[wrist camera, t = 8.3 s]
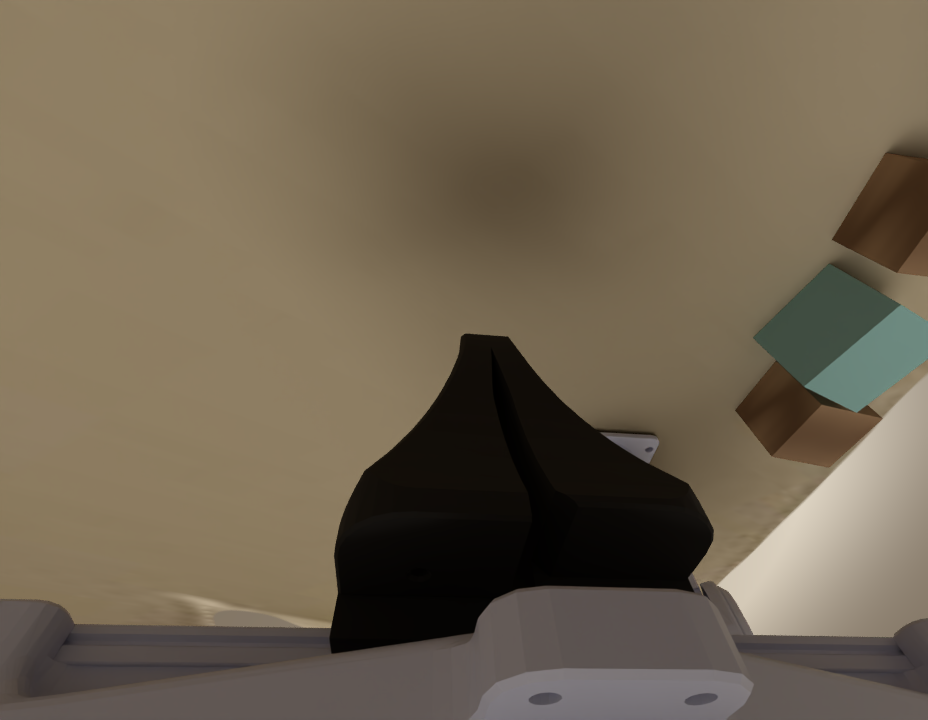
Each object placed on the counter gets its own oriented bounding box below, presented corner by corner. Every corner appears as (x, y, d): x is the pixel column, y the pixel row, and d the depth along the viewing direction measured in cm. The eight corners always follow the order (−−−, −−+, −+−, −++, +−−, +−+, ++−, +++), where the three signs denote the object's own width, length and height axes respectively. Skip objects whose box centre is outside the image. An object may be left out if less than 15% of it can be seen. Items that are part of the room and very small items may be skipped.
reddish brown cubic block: (786, 420, 29) (829, 467, 26) (734, 409, 29) (771, 456, 25) (830, 373, 27) (882, 418, 24) (775, 360, 26) (821, 404, 23)
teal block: (799, 361, 27) (856, 412, 23) (752, 337, 25) (803, 386, 22) (876, 293, 24) (954, 338, 20) (828, 262, 23) (900, 304, 19)
